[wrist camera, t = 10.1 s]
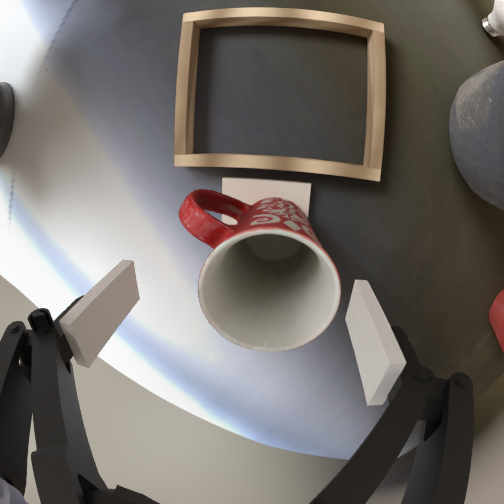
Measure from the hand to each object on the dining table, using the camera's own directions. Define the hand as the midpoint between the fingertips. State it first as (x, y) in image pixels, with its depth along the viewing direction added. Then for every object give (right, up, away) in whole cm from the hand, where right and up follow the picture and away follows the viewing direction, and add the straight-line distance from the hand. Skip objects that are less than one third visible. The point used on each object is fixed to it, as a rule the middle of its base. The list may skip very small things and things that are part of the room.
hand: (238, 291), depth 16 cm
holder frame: (+4, +19, +8) cm, 21 cm away
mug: (+2, +6, +13) cm, 15 cm away
